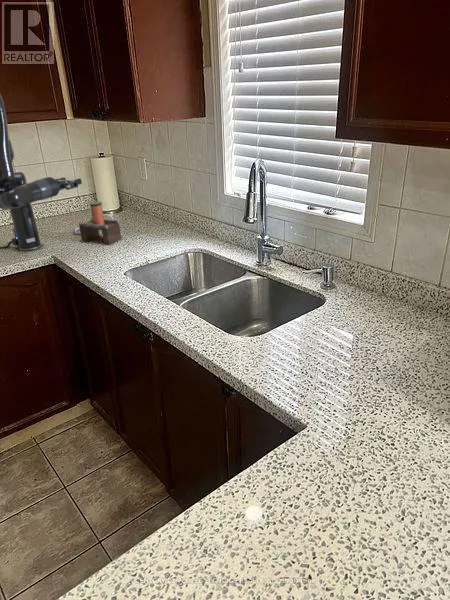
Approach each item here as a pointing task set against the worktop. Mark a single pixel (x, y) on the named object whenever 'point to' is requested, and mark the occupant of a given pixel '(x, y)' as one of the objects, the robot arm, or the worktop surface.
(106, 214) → the hook
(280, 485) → the worktop surface
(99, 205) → the spice jar
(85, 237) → the rail rack
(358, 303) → the worktop surface
